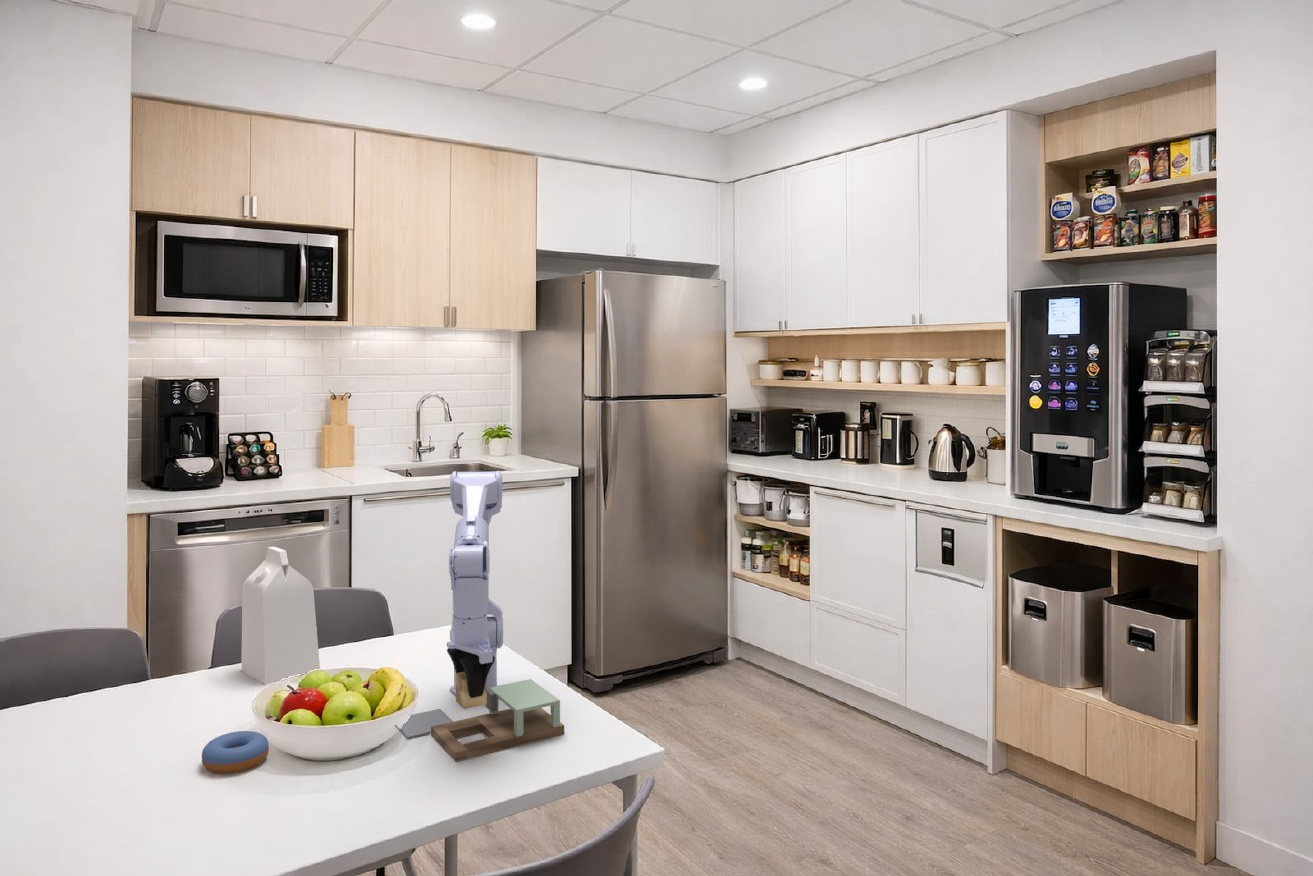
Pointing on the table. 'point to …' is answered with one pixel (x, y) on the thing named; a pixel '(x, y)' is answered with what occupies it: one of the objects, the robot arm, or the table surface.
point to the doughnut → (235, 752)
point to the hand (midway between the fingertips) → (471, 692)
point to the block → (467, 693)
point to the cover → (523, 701)
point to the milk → (278, 621)
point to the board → (494, 732)
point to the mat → (423, 723)
